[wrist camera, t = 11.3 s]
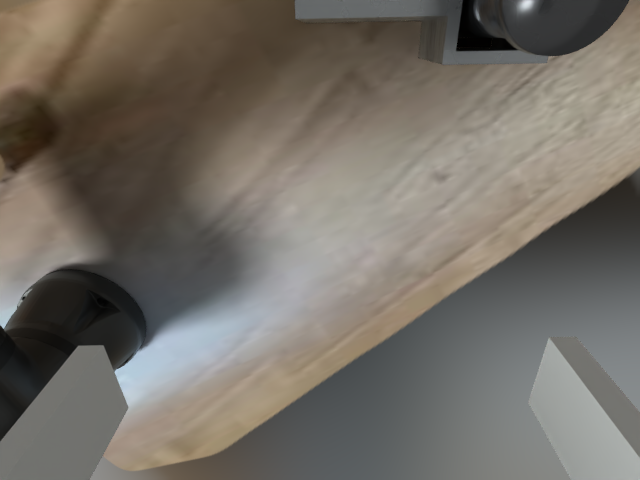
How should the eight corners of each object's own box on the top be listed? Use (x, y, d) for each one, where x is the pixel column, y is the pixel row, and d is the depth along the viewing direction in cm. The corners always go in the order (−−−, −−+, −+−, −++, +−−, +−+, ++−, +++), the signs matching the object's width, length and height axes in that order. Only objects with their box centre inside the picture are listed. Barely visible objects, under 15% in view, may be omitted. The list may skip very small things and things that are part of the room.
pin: (428, 49, 34) (492, 57, 18) (435, -28, 31) (518, -92, 16) (493, 47, 33) (613, 54, 18) (506, -31, 31) (660, -99, 15)
